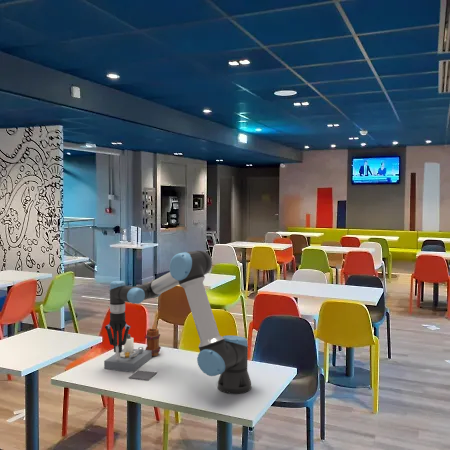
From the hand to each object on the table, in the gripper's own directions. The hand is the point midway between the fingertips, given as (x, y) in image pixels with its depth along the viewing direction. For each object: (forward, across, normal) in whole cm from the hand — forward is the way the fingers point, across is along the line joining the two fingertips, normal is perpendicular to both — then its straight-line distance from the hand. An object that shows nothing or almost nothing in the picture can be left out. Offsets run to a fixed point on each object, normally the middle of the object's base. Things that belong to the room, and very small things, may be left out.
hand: (118, 358), depth 239 cm
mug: (+5, +11, +26) cm, 29 cm away
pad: (+5, +15, -8) cm, 18 cm away
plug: (+5, +2, +9) cm, 11 cm away
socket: (+5, +2, +9) cm, 11 cm away
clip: (0, +6, +7) cm, 9 cm away
